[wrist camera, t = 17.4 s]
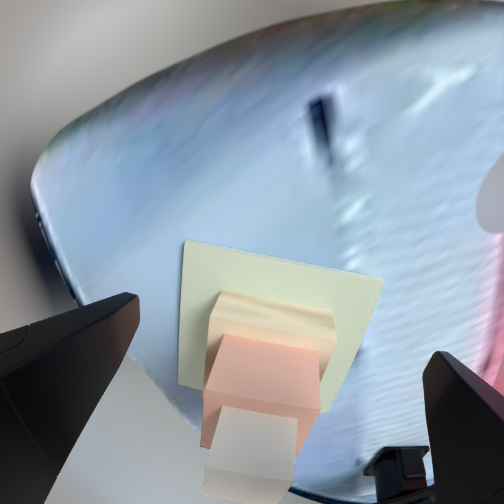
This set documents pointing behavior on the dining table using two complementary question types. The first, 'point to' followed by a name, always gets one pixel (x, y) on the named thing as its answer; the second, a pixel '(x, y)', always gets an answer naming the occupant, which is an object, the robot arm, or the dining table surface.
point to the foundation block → (269, 326)
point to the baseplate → (274, 288)
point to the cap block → (251, 457)
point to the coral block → (262, 384)
